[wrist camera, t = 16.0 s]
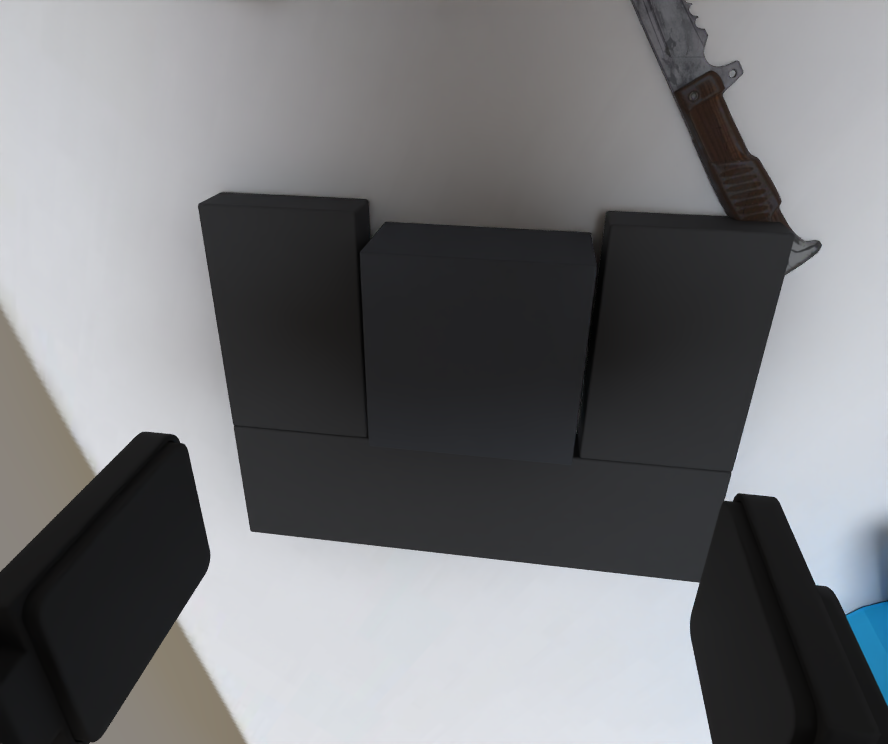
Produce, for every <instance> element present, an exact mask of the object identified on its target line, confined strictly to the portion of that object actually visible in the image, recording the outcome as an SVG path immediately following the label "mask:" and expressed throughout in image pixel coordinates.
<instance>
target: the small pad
mask: <svg viewBox="0 0 888 744" xmlns="http://www.w3.org/2000/svg"><path fill="white" fill-rule="evenodd" d="M360 269H361V290H362V311H363V332H364V353H365V373H366V394H367V415H368V436H369V446H375V447H385V448H396V449H406V450H417V451H427V452H438V453H448V454H459V455H469V456H480V457H491V458H501V459H512V460H522V461H533V462H543V463H554V464H564V465H572V461H573V453H574V445H575V437H576V429H577V421H578V413H579V406H580V398H581V390H582V382H583V374H584V366H585V358H586V350H587V342H588V335H589V327H590V319H591V311H592V303H593V295H594V287H595V279H596V271H597V264H596V259H595V253H594V248H593V243H592V237H591V233H586V232H566V231H547V230H528V229H509V228H490V227H471V226H452V225H432V224H413V223H394V222H385V224H384V225H383V226H382V227H381V228H380V229H379V231H378V232H377V233H376V234H375V235H374V236H373V238H372V239H371V240H370V241H369V242H368V243H367V245H366V246H365V247H364V248H363V249H362V250H361V252H360Z"/></svg>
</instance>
